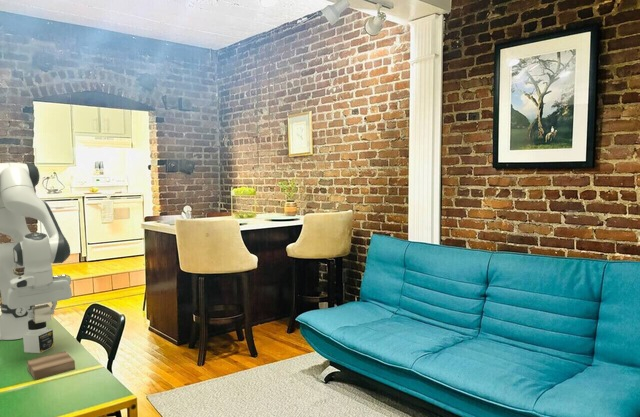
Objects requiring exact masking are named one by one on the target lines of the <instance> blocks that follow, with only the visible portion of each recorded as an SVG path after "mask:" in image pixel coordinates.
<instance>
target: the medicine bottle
mask: <svg viewBox="0 0 640 417" xmlns="http://www.w3.org/2000/svg"><path fill="white" fill-rule="evenodd" d="M28 331H29V332H27V333H25V334H23V338H22V340H23V352H24V353H25V354H26V353H27V354H28V353H29V354H42V353H44V352H46V351H48V350H50V349H52V348H54V346H55V342H54V330H53V328H48V326H47V321H46V322H41V323H35V322H34V321H33V319H31V320H29V321H28Z"/></svg>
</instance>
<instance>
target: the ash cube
mask: <svg viewBox="0 0 640 417" xmlns="http://www.w3.org/2000/svg"><path fill="white" fill-rule="evenodd" d="M51 307H52V306H50V304H48V303H44V304H39V305H35V306H34V307H32V312H34V318H33V321H34V322H35V323H41V322H46V323H47V322H50V321H52V314H51Z"/></svg>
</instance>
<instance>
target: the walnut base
mask: <svg viewBox="0 0 640 417" xmlns="http://www.w3.org/2000/svg"><path fill="white" fill-rule="evenodd" d="M26 367H27V371H28V372H29V374H31V376H32V378H33V379H34V381H37V380H40V379H44V378H47V377H51V376H54V375H59V374H62V373H66V372H69V371H73V370H75V369H76V362H75V359H74V358H73V357H72V356H71V355H70V354H69V353H68V352H67V351H66V350H64V351H61V352H57V353H52V354H49V355H44V356H39V357H37V358H33V359H28V360H26Z"/></svg>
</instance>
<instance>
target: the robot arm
mask: <svg viewBox="0 0 640 417" xmlns="http://www.w3.org/2000/svg"><path fill="white" fill-rule="evenodd" d="M40 178H41V176H40V171H39V168H38V167H37V166H36V165H35V164H33V163H29V162H25V163H24V162H23V163H22V162H12V161H11V162H8V161H7V162H2V163H1V162H0V234H3V235H5V236H8V237H11V239H12V240H13V241H12V242H11V241H10V242H4V243H0V297H1V303H0V312H1V314H0V340H1V341H12V340H19V339H23V334H25V333H27V332H29V331H28V321H29V320H31V319H33V318H34V312H32V307H34V306H39V305H45V304H48V303H51V304H52V305H51V306H50V307H51V315H53V314H55V309H56V307H57V305H58V302H59V301H65V300H70V299H71V298H72V296H73V292H72V288H71V284H72V277H71V276H70V275H68V274H60V275H59V274H58V275H54V274H53V266H52V264H62V263H64V262H66V260H68V258H69V257H70V256H71V247H70V245H69V244H70V243H69V242H68V240H67V239H66V237H65V235H64V234H63V232H62V230H61V227H60V225H59V223H58V221H57V219H56V217H55V215H54V213H53V211H52V208H51V207H50V206H49V205H48V203H47V202H46V201H44V200H41V199H40V198H39V196H38V195H37V194H36V192H35V189H34V188H35V187H36V186H38V184H39V183H40V182H39V181H40ZM26 217H27V218H31V219H34V220H37V221H39V222H40V223H41V224H42V225H43V227H44V230H45V231H46V233H47V234H46V233H44V232H31V230H30V228H28V224H27V221H26ZM22 268H24V269H23V274H22V275H19V274H15V272H14V270H15V269H22Z"/></svg>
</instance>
